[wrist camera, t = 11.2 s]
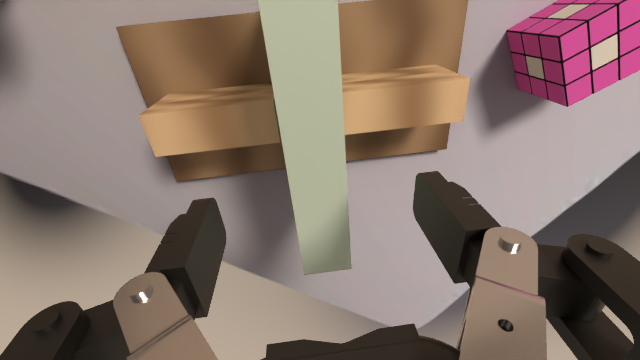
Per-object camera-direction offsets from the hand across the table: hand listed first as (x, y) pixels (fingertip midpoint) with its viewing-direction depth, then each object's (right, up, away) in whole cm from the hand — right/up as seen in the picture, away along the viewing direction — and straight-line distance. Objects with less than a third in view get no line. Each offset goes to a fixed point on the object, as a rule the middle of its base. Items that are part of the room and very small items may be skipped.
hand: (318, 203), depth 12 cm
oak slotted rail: (-1, +8, +14) cm, 16 cm away
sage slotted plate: (-1, +8, +13) cm, 15 cm away
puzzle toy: (+19, +13, +14) cm, 27 cm away
